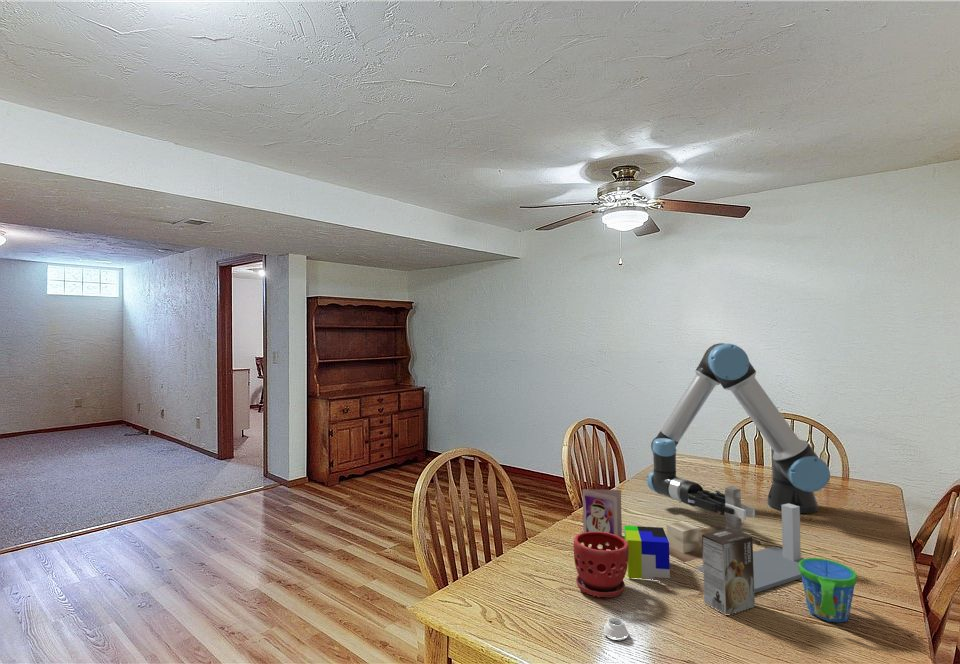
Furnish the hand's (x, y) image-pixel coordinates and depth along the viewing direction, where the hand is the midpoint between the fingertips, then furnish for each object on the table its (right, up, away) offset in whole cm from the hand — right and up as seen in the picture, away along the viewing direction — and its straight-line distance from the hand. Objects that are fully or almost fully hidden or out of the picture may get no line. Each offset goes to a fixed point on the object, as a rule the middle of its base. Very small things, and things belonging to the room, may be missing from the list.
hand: (749, 513), depth 147 cm
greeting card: (-41, -10, +5) cm, 42 cm away
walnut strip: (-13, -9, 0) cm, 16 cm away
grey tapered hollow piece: (-51, -10, -43) cm, 67 cm away
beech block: (-21, -8, -3) cm, 23 cm away
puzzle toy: (-35, -10, -15) cm, 40 cm away
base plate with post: (-6, -9, -17) cm, 20 cm away
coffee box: (-22, -9, -33) cm, 40 cm away
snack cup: (-3, -9, -37) cm, 38 cm away
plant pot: (-49, -10, -24) cm, 55 cm away
